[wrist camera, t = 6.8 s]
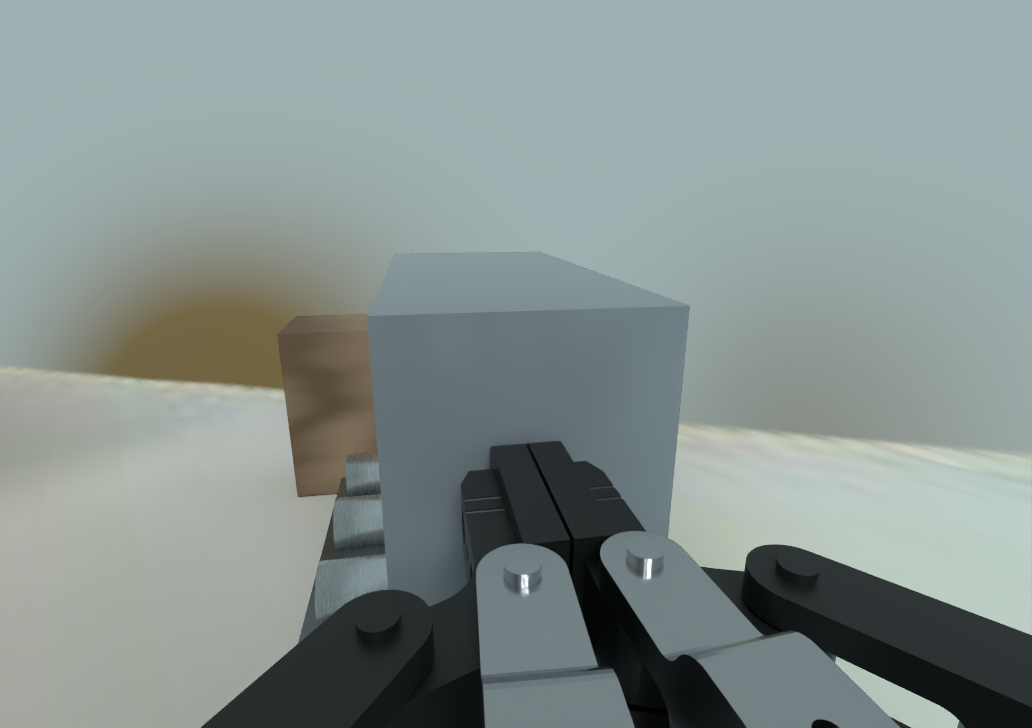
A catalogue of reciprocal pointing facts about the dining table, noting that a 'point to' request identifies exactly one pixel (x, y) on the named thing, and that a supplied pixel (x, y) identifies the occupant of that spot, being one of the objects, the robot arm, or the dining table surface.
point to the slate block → (513, 391)
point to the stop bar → (327, 397)
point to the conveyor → (350, 543)
